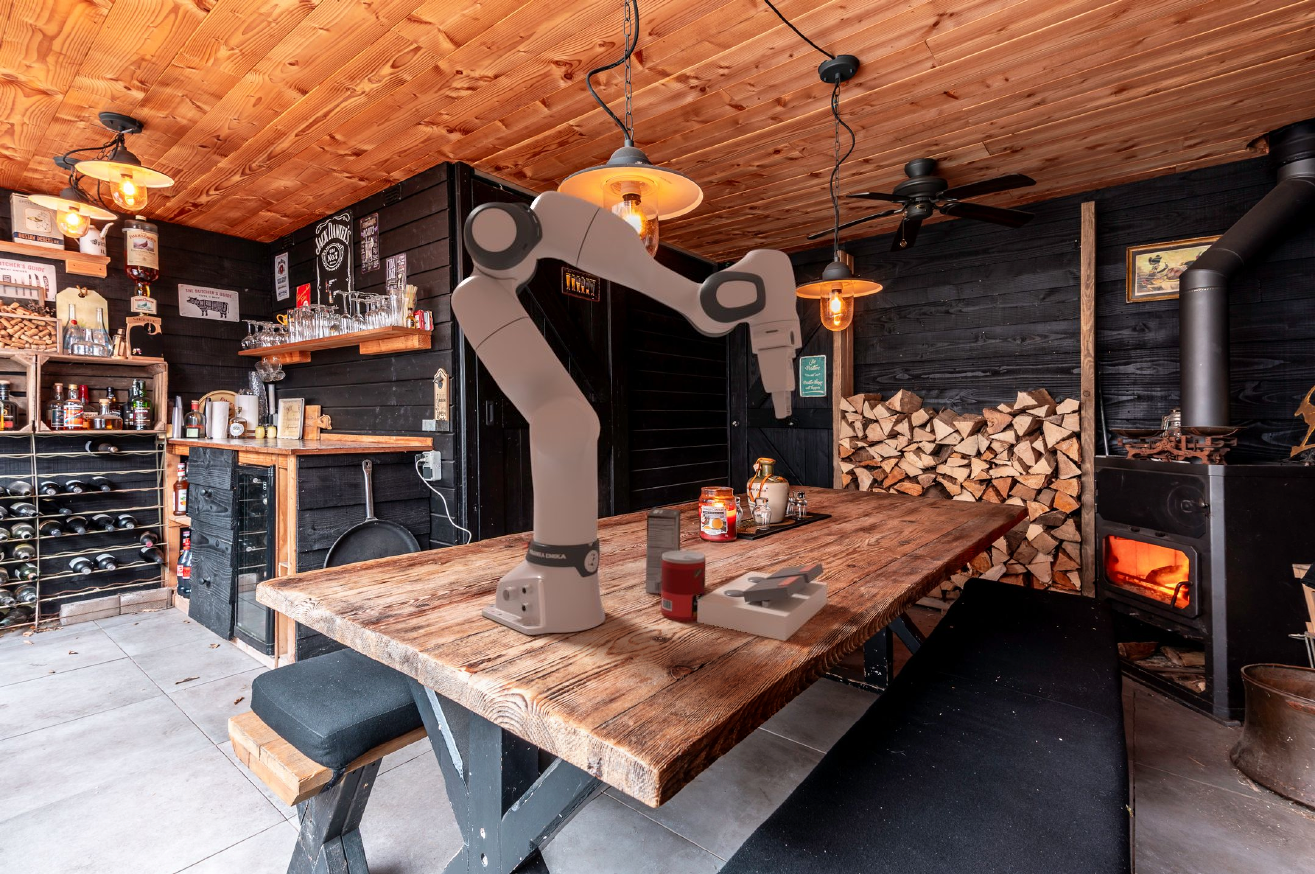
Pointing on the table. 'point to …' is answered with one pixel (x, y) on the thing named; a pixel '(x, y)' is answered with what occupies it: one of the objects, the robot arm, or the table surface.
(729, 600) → the beige flat block
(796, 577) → the rocker near
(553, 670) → the table surface
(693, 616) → the canned food
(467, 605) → the table surface
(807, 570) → the rocker far
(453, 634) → the table surface
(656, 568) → the coffee box
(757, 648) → the table surface
